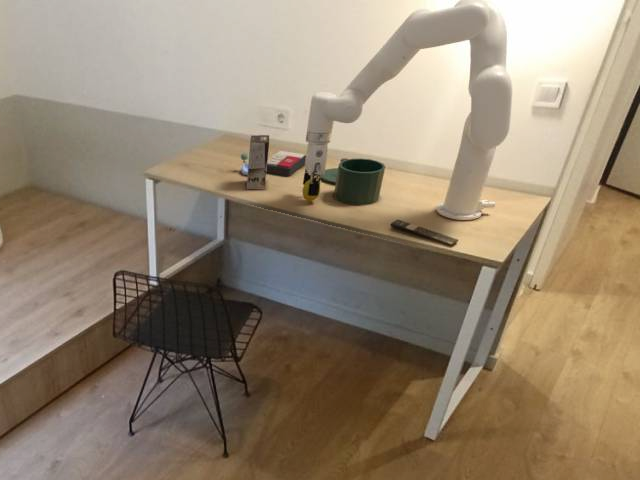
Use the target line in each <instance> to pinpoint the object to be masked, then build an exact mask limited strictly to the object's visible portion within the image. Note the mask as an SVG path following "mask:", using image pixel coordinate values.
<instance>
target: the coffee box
mask: <svg viewBox="0 0 640 480" xmlns="http://www.w3.org/2000/svg"><path fill="white" fill-rule="evenodd" d="M249 141H250V142H249V153H248V155H249V156H248V163H249V164H248V175H247V181H246V190H260V191H261V190H265V188H266V178H267V173H266V171H267V161H268V159H269V149H270V135H268V134H259V135H255V134H254V135H252V134H251V135H250V140H249Z"/></svg>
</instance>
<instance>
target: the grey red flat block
mask: <svg viewBox="0 0 640 480" xmlns="http://www.w3.org/2000/svg"><path fill="white" fill-rule="evenodd" d="M305 160H306V154H303V153H299V152H298V153H297V152H290V151H284V150H279V151H278V152H276V153H274V154H272V156H271V157H270V158H268V161H267V171H266V174H273V175H277V176H284V177H291V175H293V174H294V173H296V172H297V171H298V170H299V169H301V168H303V167H305Z"/></svg>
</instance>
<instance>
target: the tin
mask: <svg viewBox="0 0 640 480" xmlns="http://www.w3.org/2000/svg"><path fill="white" fill-rule="evenodd" d="M347 159H348V160H344V161H342V162H341V161H340V162H339V164H338V166H337V168H338V173H337V179H336V183H335V186H334V191H333V197H334V199H335V200H337V201H339V202H340V203H343V204H347V205H356V206H363V205H364V206H365V205H372V204H374V203H377V201H379V197H380V195H381V191H382V190H381V189H382V186H383V180H384V176H385V170H386V165H385V164H384V163H383V162H380V161H378V160H375V159H371V158H360V157H359V158H347Z"/></svg>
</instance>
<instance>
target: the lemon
mask: <svg viewBox="0 0 640 480" xmlns="http://www.w3.org/2000/svg"><path fill="white" fill-rule="evenodd" d="M313 179H314V178H313ZM310 183H311V179H310V180H308V181H307V182H306V183H305V184H304V185H303V187H302V197H303V198H304V200H306V201H307V202H308V203H312V202H313V201H315V200H317V199H318V198H319V196H320V193H321V186H320V187H319V193H318V196H308V190H309V184H310Z"/></svg>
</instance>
